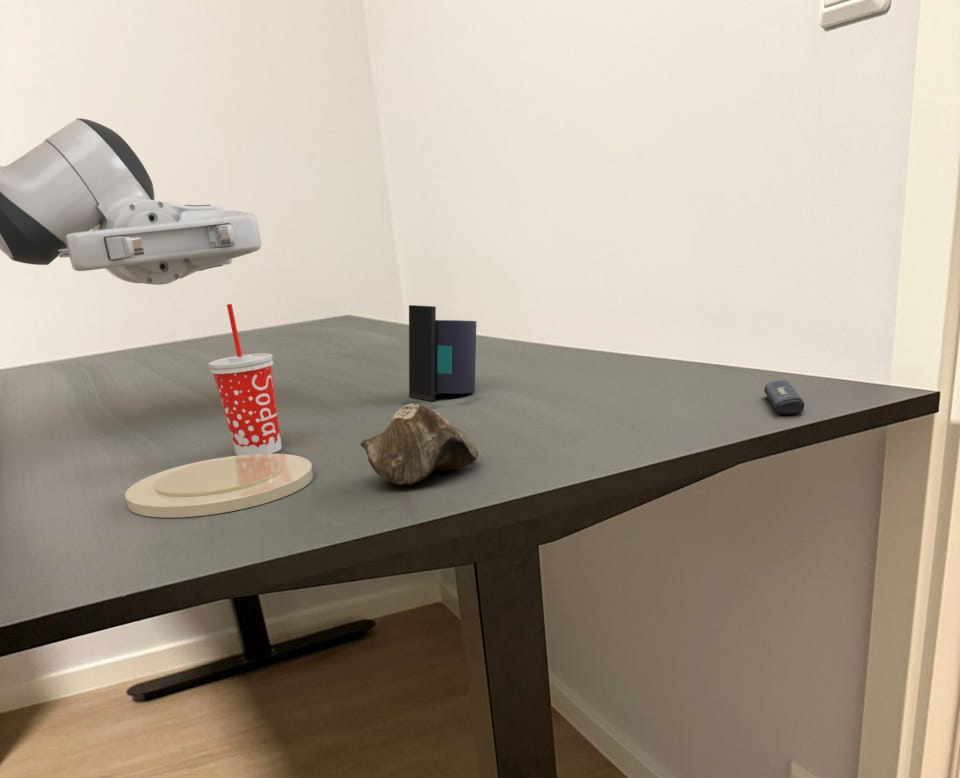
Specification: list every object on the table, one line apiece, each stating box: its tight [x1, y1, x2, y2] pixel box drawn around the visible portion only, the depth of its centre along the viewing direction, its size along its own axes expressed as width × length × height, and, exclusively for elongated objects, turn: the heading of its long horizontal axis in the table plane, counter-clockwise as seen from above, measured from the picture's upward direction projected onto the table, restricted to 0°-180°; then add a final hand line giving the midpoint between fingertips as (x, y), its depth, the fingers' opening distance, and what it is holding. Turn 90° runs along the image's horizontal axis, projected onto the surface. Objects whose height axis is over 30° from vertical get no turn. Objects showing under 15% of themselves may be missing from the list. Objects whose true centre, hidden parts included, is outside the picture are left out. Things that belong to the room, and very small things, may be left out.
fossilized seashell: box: [360, 403, 479, 485], centre depth 79 cm, size 8×7×10 cm
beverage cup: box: [207, 303, 283, 456], centre depth 93 cm, size 6×6×14 cm
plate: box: [124, 453, 314, 519], centre depth 83 cm, size 16×16×1 cm
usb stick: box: [763, 379, 805, 416], centre depth 90 cm, size 10×3×2 cm, turn 172°
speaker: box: [408, 304, 477, 402], centre depth 110 cm, size 8×6×10 cm
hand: (182, 240), depth 97 cm, fingers open, 8 cm apart
